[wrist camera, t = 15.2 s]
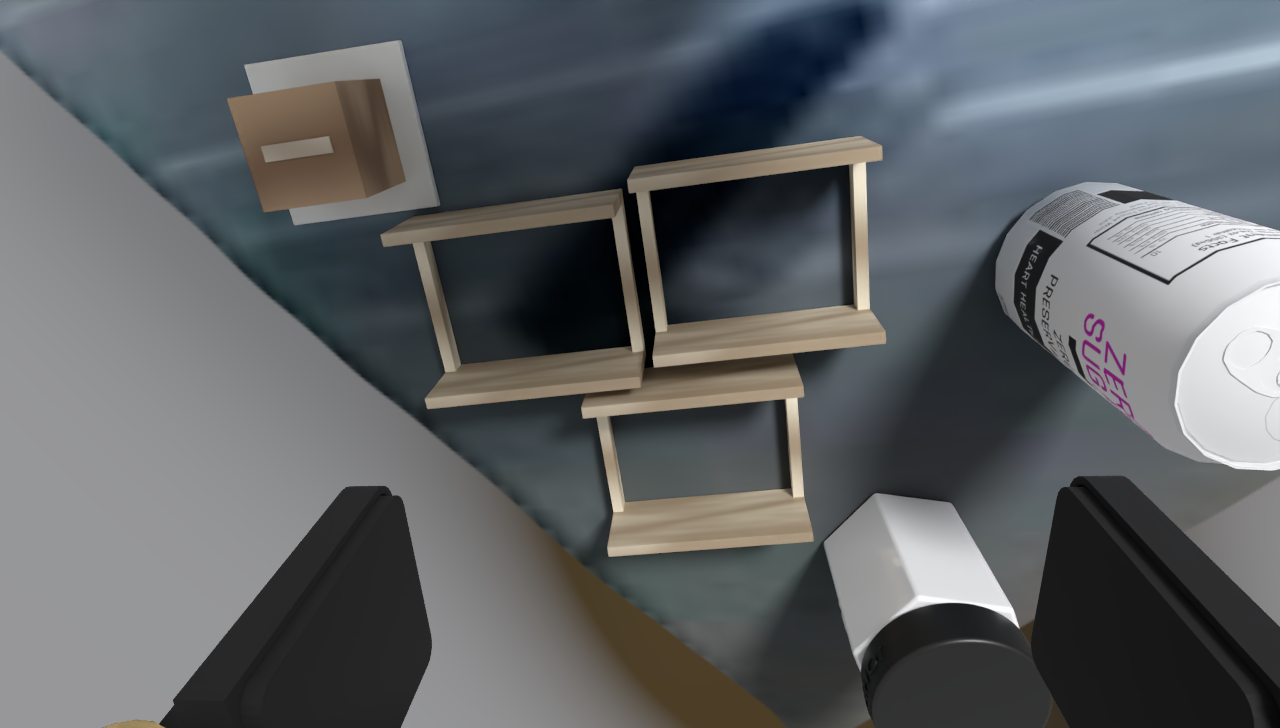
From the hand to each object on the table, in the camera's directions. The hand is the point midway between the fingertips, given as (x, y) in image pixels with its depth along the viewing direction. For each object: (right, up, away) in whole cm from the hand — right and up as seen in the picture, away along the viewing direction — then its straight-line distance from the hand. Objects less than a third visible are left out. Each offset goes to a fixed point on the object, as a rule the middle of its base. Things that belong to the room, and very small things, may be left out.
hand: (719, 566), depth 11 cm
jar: (+14, -8, +35) cm, 39 cm away
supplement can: (+21, +8, +27) cm, 36 cm away
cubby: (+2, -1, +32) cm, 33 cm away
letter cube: (-16, +14, +27) cm, 35 cm away
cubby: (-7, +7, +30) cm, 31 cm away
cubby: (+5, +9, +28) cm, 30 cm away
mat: (-16, +15, +27) cm, 35 cm away
